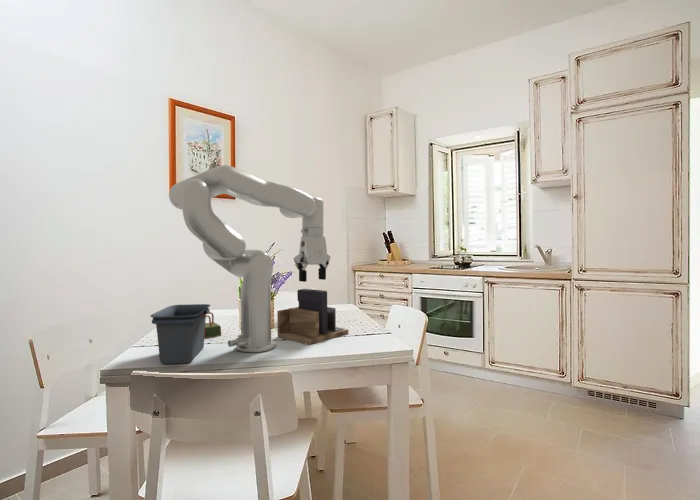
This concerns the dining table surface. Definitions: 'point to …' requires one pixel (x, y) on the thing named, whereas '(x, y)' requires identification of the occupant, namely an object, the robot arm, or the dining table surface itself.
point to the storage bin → (181, 331)
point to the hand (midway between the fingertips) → (312, 280)
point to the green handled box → (212, 330)
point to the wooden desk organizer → (306, 325)
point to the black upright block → (315, 305)
